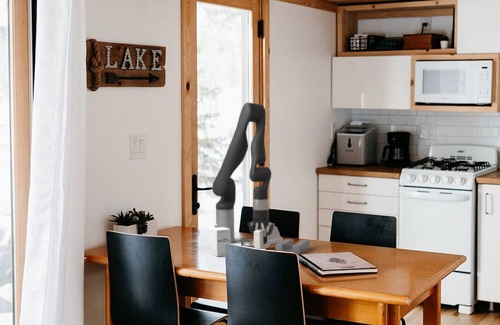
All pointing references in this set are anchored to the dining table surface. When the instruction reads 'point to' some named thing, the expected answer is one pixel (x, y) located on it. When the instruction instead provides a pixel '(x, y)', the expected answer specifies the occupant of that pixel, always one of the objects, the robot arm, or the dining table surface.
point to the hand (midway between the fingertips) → (261, 243)
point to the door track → (293, 246)
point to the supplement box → (219, 240)
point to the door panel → (260, 239)
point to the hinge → (274, 236)
